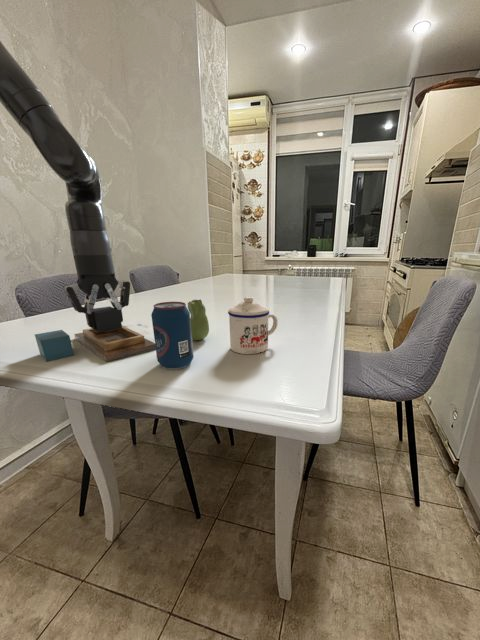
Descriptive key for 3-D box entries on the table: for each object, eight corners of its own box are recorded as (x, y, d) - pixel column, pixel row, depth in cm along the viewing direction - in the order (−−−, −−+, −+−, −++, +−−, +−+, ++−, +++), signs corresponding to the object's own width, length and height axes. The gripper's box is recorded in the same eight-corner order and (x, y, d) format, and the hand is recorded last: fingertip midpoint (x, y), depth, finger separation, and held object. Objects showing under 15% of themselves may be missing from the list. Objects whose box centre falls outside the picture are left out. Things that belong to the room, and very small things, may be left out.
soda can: (151, 364, 58) (143, 304, 54) (182, 354, 63) (176, 299, 58) (169, 374, 53) (161, 310, 49) (200, 363, 58) (196, 304, 54)
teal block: (46, 361, 59) (40, 340, 58) (40, 354, 63) (34, 334, 61) (74, 355, 62) (69, 335, 61) (66, 348, 66) (61, 329, 65)
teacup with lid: (240, 358, 61) (238, 303, 57) (223, 345, 68) (220, 296, 64) (287, 348, 67) (288, 297, 62) (266, 337, 74) (267, 291, 70)
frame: (106, 362, 59) (103, 349, 58) (75, 338, 73) (72, 328, 72) (157, 348, 66) (155, 337, 65) (119, 329, 81) (118, 320, 80)
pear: (212, 340, 72) (210, 300, 68) (191, 344, 69) (187, 302, 66) (205, 335, 76) (202, 296, 73) (185, 338, 74) (181, 298, 70)
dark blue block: (100, 332, 67) (96, 313, 65) (91, 327, 71) (87, 309, 69) (122, 328, 70) (119, 309, 69) (113, 323, 74) (109, 306, 73)
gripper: (119, 251, 72) (129, 318, 78) (50, 253, 62) (68, 329, 68) (131, 252, 67) (142, 323, 73) (59, 254, 57) (77, 336, 63)
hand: (106, 326), depth 70 cm, fingers closed on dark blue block, 5 cm apart
